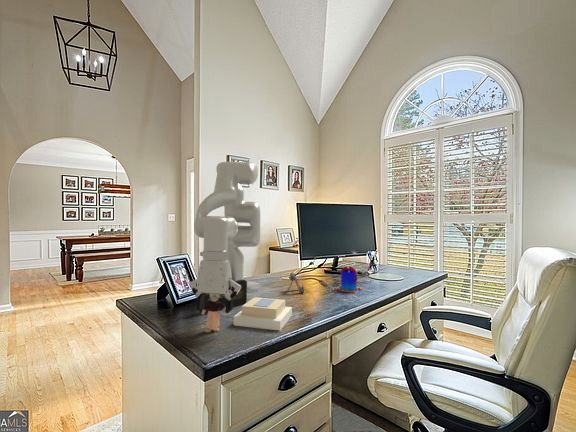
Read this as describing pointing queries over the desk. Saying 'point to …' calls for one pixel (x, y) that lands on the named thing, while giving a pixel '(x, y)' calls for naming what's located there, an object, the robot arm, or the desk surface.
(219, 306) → the grandmother figurine
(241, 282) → the nameplate
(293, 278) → the portable electronic device stand
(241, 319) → the plinth
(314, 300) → the desk surface
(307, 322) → the desk surface
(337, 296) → the desk surface
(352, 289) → the fantasy tower
